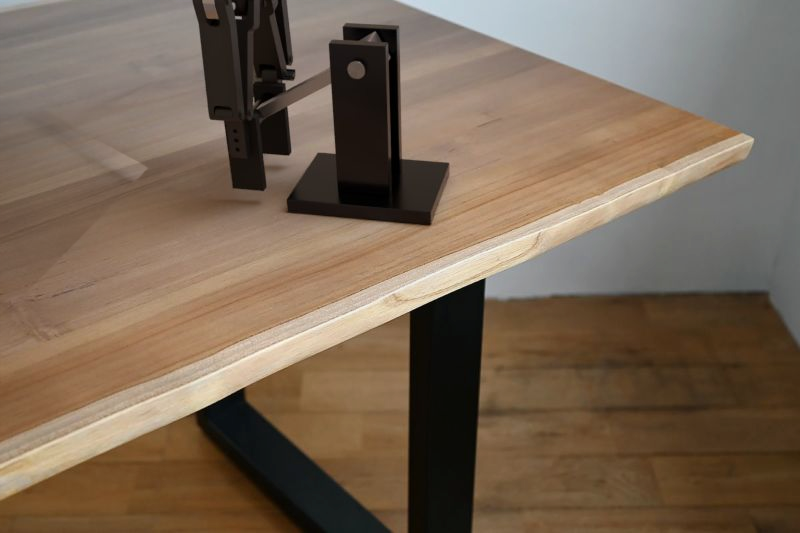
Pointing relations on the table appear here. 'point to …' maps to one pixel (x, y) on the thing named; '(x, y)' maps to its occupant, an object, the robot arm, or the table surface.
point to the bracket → (368, 140)
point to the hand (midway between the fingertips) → (263, 169)
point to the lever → (298, 90)
